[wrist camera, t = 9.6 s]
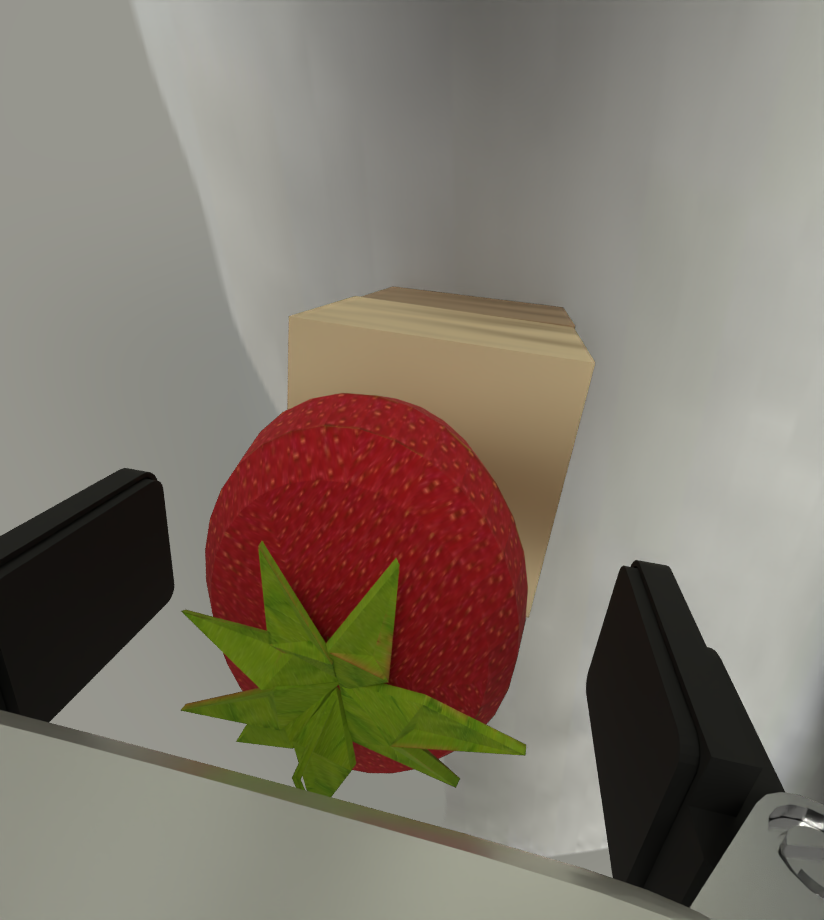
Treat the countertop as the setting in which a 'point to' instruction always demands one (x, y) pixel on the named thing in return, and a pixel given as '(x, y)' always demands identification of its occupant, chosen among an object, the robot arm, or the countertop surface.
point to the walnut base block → (477, 305)
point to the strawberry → (364, 592)
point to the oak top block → (460, 389)
